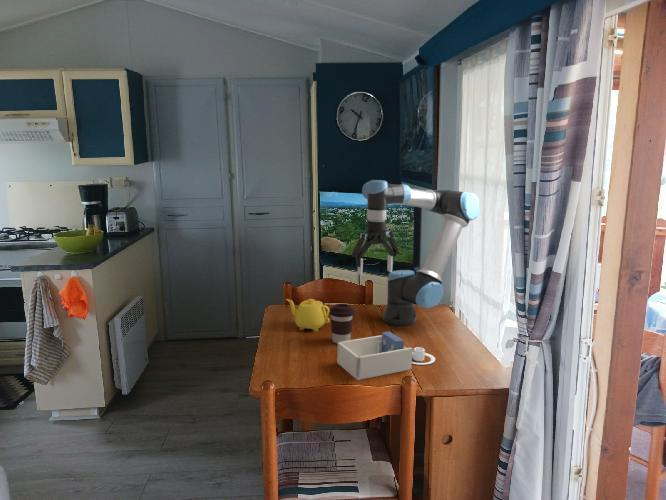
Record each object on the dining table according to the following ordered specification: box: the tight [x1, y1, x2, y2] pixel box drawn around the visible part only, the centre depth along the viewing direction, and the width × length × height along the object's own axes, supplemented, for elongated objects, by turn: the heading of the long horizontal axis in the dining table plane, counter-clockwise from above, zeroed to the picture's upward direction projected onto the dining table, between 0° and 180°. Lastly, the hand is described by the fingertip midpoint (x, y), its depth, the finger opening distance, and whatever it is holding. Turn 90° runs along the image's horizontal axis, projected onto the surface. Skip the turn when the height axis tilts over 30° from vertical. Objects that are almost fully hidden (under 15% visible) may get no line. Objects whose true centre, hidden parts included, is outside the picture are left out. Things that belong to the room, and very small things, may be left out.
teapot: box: [285, 298, 331, 333], centre depth 239 cm, size 14×20×13 cm
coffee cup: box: [329, 303, 355, 344], centre depth 222 cm, size 10×10×15 cm
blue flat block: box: [381, 331, 405, 353], centre depth 202 cm, size 3×10×9 cm, turn 25°
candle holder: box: [412, 346, 436, 366], centre depth 207 cm, size 12×12×4 cm
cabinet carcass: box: [336, 335, 413, 381], centre depth 199 cm, size 22×16×8 cm
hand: (375, 273), depth 219 cm, fingers open, 13 cm apart
